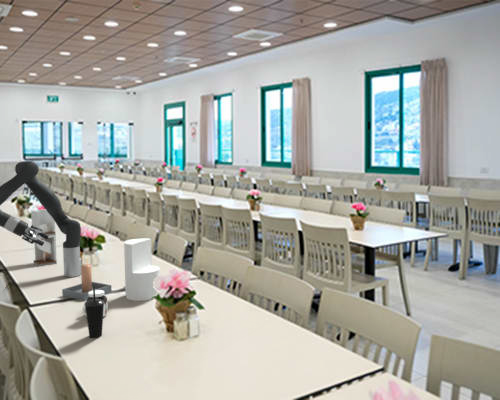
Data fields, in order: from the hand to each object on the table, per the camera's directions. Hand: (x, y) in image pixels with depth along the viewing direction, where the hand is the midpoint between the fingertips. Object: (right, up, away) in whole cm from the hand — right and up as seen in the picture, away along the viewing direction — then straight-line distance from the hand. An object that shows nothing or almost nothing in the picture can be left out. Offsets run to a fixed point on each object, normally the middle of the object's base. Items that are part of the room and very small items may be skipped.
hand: (45, 240), depth 260 cm
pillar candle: (+23, -26, -3) cm, 35 cm away
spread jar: (+37, -31, -37) cm, 61 cm away
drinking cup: (+45, -33, -60) cm, 82 cm away
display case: (-27, -20, +65) cm, 73 cm away
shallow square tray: (+23, -27, -3) cm, 35 cm away
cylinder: (+52, -28, -6) cm, 59 cm away
